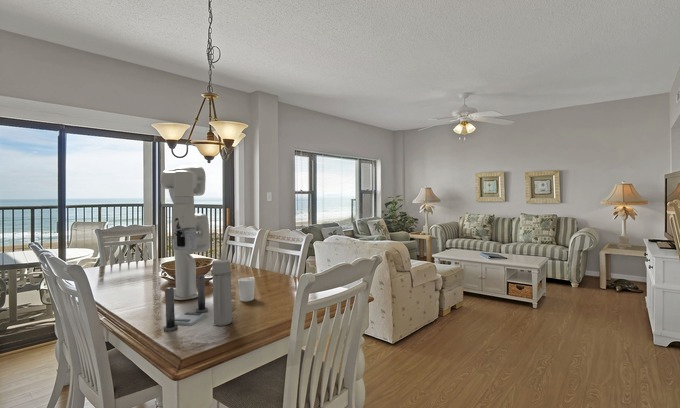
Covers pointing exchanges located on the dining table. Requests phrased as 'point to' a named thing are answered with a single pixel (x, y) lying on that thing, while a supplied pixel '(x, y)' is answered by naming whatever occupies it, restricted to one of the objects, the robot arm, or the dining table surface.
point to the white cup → (246, 288)
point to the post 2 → (201, 294)
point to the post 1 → (170, 310)
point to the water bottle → (222, 292)
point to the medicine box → (187, 240)
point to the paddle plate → (189, 318)
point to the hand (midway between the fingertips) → (185, 245)
